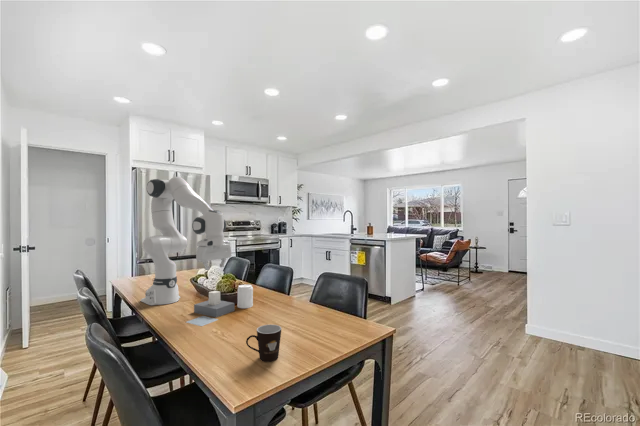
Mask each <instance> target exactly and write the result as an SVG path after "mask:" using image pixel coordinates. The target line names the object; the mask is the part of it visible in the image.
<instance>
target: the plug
mask: <svg viewBox="0 0 640 426" xmlns="http://www.w3.org/2000/svg"><path fill="white" fill-rule="evenodd" d="M208 300H209V305H217V304H220V300H221V291H218V290H212V291H209V292H208Z"/></svg>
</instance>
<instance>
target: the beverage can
mask: <svg viewBox="0 0 640 426" xmlns="http://www.w3.org/2000/svg"><path fill="white" fill-rule="evenodd" d="M253 296H254V287H253V285H252V284H239V285H238V287H237V308H239V309H250V308H252V307H253V305H254V297H253Z"/></svg>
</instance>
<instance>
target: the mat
mask: <svg viewBox="0 0 640 426" xmlns="http://www.w3.org/2000/svg"><path fill="white" fill-rule="evenodd" d="M216 321H219V319H218V318H216V317H211V316H207V315H202V316H198V317H196V318H193V319H191V320H190V319H189V320H187V321H185V323H186V324H187V323H188V324H191V325H195V326H198V327H199V326H200V327H203V326H206V325H209V324H212V323H214V322H216Z"/></svg>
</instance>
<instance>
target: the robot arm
mask: <svg viewBox="0 0 640 426" xmlns="http://www.w3.org/2000/svg"><path fill="white" fill-rule="evenodd" d="M146 193H147V194H148V196H150V197H152V198H151V203H150V205H151V206H150V207H151V208H150V210H151V213H150V214H151V221H152V226H153V228H155V229H156V230H158V231H160V232H161V234H162V235H152V236H148V237H145V239H143V242H142V250H143V252H144V253H145V254H146V255H148V256H149V257H150V258H151V260H152V262H153V263H154V264H153V265H154V278H153V279H152V284H151V286H150V287H149V288H147V289H146V291H145V295H144V297H143V298H141V299H140V302H142V303H144V304H146V305H148V306H157V305H159V306H160V305H168V304H173V303H176V302H178V301H179V300H180V299H181V296H180V295H179V286H178V276H177V264H176V262H175V261H173V260H172V259H170V257H169V254H177V253H180V252H183V251H185V250H186V249H187V248H188V239H187V237H186V236H184V234H182V233H181V232H180V231H179V230H178V229H177V227H176V224H175V221H174V215H173V208H172V202H173V201H174V202H176V204H178V205H179V206H180V207H182V208H186V209H191V210H194V211H197V212H200V213H201V214H202V215H200V216H197V217H195V218H194V220H193V221H192V224H191V227H192V230H193V232H194V233H195V234H196V235H203V236H204V235H205V238H203V239H200V240H198V241H197V243H196V245H197V247H196V253H195V255H196V256H195V260H196V261H197V262H200V263H202V264H203V266H204V270H205V271H209V270H210V267H211V266H210V265H209V264H208V263H209V261H217V260H220V261H221V262H220V263H219V268H224V267H225V263H226V260H227V259H230V258H231V257H232V246H231V242H230V241H229V240H225V234H224V232H225V231H226V228H227V222H226V219H225V217H224V213H223V212H222V211H220V210H215V209H214V208H212V206H211V205H210V203H208V202H207V200H205V199H204V198H202V197H201V196H200V195H199V194H198V193H196V191H195V190H194V189H193V188H192V187H191V185H190V184H189V183H188V182H187V181H186V179H184V178H183V177H181V176H173V177H172V178H171V177H170V179H159V178H154V179H153V178H152V179H150V180H149V181H148V182H147V184H146Z"/></svg>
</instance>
